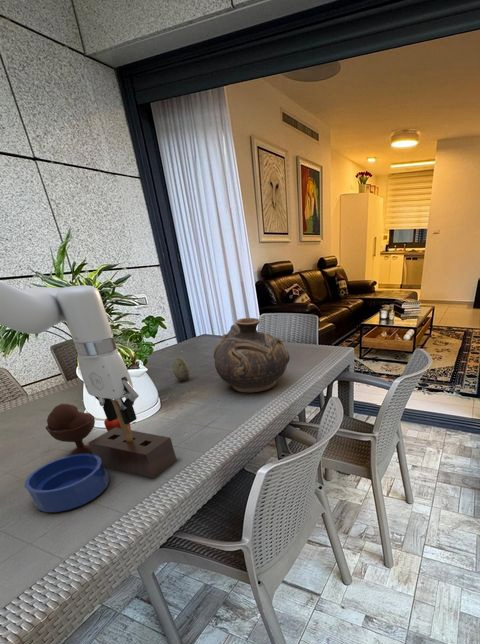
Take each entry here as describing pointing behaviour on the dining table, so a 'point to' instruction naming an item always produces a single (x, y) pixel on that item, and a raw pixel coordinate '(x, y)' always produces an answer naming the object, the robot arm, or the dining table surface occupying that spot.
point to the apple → (113, 424)
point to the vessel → (250, 357)
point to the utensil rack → (134, 452)
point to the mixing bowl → (67, 482)
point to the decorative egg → (181, 369)
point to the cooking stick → (122, 422)
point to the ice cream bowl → (70, 426)
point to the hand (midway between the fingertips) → (122, 419)
